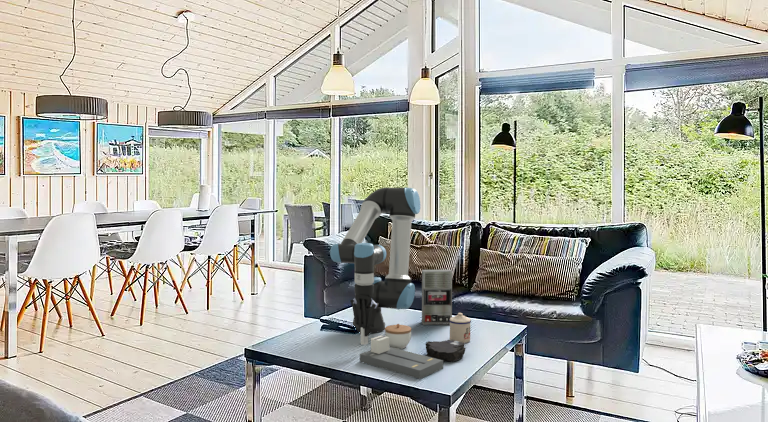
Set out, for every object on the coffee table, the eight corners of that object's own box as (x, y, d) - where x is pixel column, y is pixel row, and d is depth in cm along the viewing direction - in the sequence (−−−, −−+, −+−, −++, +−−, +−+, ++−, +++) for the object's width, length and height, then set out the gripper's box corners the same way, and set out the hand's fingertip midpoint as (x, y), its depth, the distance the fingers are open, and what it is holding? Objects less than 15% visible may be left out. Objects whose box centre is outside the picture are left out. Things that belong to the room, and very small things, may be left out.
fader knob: (370, 351, 217) (370, 338, 217) (381, 348, 222) (381, 334, 222) (378, 353, 215) (378, 340, 214) (389, 350, 219) (389, 336, 219)
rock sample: (464, 364, 214) (464, 351, 213) (422, 362, 216) (422, 349, 216) (466, 350, 231) (466, 338, 230) (427, 348, 233) (427, 336, 233)
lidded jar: (414, 344, 238) (414, 321, 237) (406, 351, 228) (406, 328, 227) (389, 341, 242) (389, 319, 241) (381, 349, 231) (381, 326, 231)
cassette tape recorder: (422, 325, 268) (422, 272, 266) (421, 322, 274) (421, 269, 272) (452, 325, 268) (452, 271, 267) (450, 321, 274) (450, 269, 273)
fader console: (359, 361, 216) (359, 353, 216) (384, 353, 227) (384, 345, 226) (419, 379, 198) (419, 370, 198) (443, 368, 208) (443, 360, 208)
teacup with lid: (467, 344, 237) (468, 316, 237) (446, 342, 241) (446, 314, 240) (474, 336, 249) (474, 310, 248) (454, 334, 252) (454, 308, 251)
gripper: (345, 282, 223) (345, 342, 225) (370, 287, 215) (370, 349, 216) (358, 280, 229) (358, 338, 230) (383, 284, 221) (383, 344, 222)
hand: (364, 343), depth 223 cm, fingers closed
